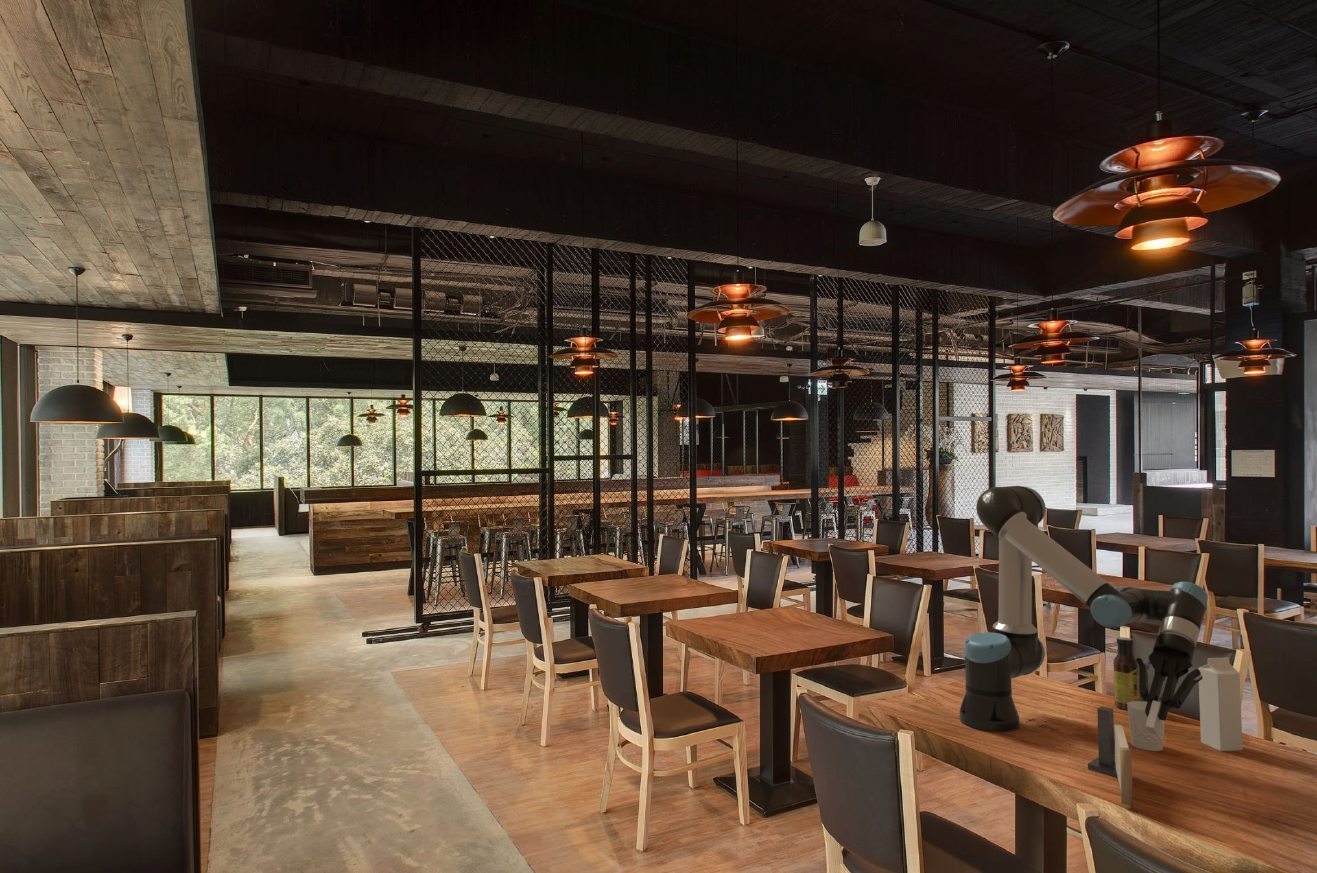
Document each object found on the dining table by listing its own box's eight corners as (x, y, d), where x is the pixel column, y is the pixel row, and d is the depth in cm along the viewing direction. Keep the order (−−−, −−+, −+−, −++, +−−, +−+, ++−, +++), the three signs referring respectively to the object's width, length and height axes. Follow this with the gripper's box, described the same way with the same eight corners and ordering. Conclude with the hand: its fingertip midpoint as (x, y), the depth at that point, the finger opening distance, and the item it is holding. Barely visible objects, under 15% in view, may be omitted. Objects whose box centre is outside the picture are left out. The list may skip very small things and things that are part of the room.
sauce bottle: (1140, 712, 210) (1137, 642, 211) (1114, 709, 214) (1112, 639, 215) (1139, 706, 216) (1137, 637, 217) (1114, 702, 219) (1112, 635, 220)
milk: (1200, 742, 188) (1196, 655, 189) (1222, 741, 189) (1218, 654, 190) (1221, 751, 182) (1216, 661, 183) (1243, 750, 183) (1239, 660, 184)
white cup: (1172, 753, 181) (1170, 712, 181) (1136, 751, 183) (1135, 710, 183) (1157, 741, 189) (1155, 702, 189) (1123, 739, 190) (1121, 700, 191)
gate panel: (1114, 770, 169) (1113, 721, 170) (1124, 771, 168) (1123, 722, 169) (1121, 804, 152) (1120, 750, 153) (1133, 806, 151) (1131, 751, 152)
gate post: (1088, 769, 172) (1086, 708, 173) (1098, 762, 176) (1096, 702, 177) (1116, 777, 168) (1114, 714, 168) (1126, 770, 171) (1124, 709, 172)
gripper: (1213, 657, 170) (1190, 748, 159) (1148, 645, 180) (1123, 730, 169) (1205, 637, 166) (1181, 729, 156) (1140, 626, 177) (1113, 712, 166)
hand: (1151, 730), depth 162 cm, fingers closed
